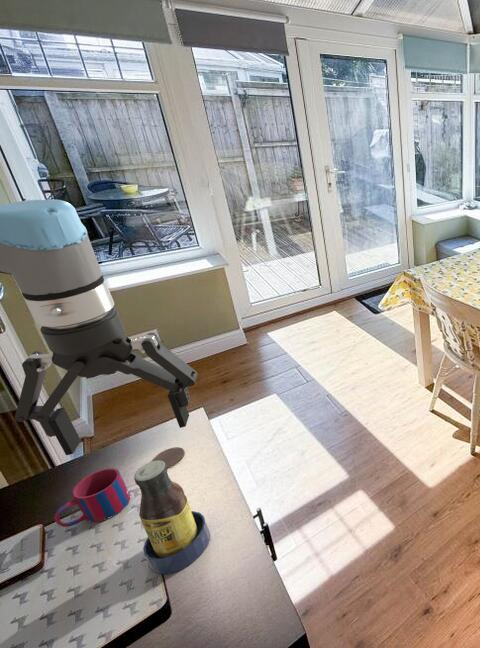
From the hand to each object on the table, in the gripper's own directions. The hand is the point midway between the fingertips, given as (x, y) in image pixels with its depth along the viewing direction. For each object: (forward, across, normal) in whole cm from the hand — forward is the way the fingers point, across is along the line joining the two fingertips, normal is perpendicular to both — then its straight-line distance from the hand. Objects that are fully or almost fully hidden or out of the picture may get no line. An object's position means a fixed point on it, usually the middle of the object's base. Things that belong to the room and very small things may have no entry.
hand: (131, 434), depth 64 cm
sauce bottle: (+28, 0, 0) cm, 28 cm away
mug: (+28, -16, +15) cm, 36 cm away
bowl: (+28, 0, 0) cm, 28 cm away
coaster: (+28, -7, +25) cm, 38 cm away
